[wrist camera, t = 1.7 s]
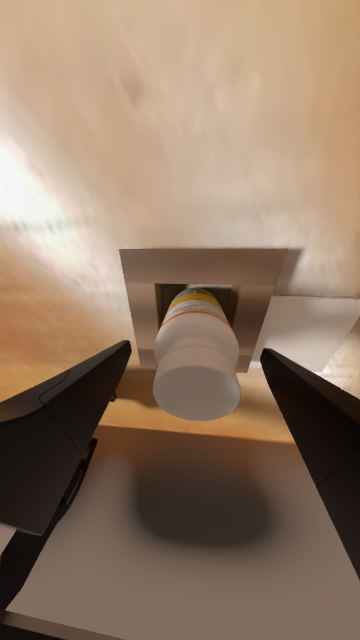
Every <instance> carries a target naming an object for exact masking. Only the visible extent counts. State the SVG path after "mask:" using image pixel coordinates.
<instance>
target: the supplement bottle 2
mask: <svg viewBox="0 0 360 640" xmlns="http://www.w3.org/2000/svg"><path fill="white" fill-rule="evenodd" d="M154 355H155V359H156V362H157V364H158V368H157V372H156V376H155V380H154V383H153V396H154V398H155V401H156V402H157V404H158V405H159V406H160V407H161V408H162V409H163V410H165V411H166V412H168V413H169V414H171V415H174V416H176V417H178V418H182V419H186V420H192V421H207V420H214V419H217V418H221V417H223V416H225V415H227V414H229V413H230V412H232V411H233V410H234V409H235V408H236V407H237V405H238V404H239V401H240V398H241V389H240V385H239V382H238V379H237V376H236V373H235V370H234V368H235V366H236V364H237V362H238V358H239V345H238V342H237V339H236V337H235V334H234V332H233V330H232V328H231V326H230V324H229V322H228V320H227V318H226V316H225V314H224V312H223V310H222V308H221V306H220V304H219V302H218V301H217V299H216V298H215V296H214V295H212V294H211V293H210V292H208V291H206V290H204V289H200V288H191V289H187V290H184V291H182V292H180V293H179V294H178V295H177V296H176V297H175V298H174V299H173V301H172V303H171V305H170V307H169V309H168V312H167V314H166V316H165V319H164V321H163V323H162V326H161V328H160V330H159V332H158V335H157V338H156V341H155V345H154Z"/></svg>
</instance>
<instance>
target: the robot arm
mask: <svg viewBox="0 0 360 640" xmlns="http://www.w3.org/2000/svg"><path fill="white" fill-rule="evenodd" d="M131 352H132V349H131V345H130V341H129V340H123V341H121V342H119V343H117V344H115V345H113V346H111V347H109V348H108V349H106V350H104V351H102V352H100V353H98V354H96V355H94V356H93V357H91V358H89V359H87V360H85V361H83V362H81V363H79V364H77V365H76V366H74V367H72V368H70V369H68V370H66V371H64V372H62V373H60V374H59V375H57V376H55V377H53V378H51V379H49V380H47V381H45V382H43V383H40V384H38V385H36V386H34V387H32V388H30V389H28V390H26V391H24V392H22V393H19V394H17V395H15V396H13V397H11V398H9V399H7V400H5V401H2V402H0V640H124V639H120V638H116V637H112V636H108V635H104V634H99V633H96V632H91V631H87V630H83V629H79V628H75V627H71V626H67V625H63V624H59V623H54V622H50V621H46V620H42V619H38V618H34V617H30V616H25V615H22V614H18V613H14V612H9V611H5V609H6V608H7V606H8V605H9V604H10V603H11V601H12V600H13V599H14V598H15V596H16V595H17V594H18V592H19V591H20V590H21V588H22V587H23V585H24V583H25V581H26V579H27V577H28V575H29V573H30V572H31V570H32V568H33V566H34V564H35V562H36V560H37V558H38V556H39V554H40V552H41V551H42V549H43V547H44V545H45V543H46V541H47V539H48V538H49V536H50V534H51V533H52V531H53V529H54V528H55V526H56V524H57V523H58V522H59V521H60V520H61V518H62V517H63V516H64V515H65V513H66V512H67V510H68V509H69V507H70V505H71V504H72V502H73V500H74V498H75V497H76V495H77V493H78V491H79V489H80V486H81V484H82V481H83V479H84V475H85V473H86V471H87V468H88V465H89V463H90V460H91V458H92V455H93V452H94V449H95V447H96V444H97V442H98V439H96V438H92V435H93V433H94V431H95V429H96V427H97V425H98V423H99V422H100V420H101V418H102V416H103V414H104V412H105V410H106V408H107V406H108V404H109V402H114V401H115V400H116V397H115V394H114V392H115V390H116V388H117V386H118V384H119V382H120V380H121V378H122V375H123V373H124V371H125V369H126V366H127V363H128V360H129V358H130V355H131ZM260 363H261V365H262V368H263V371H264V374H265V377H266V380H267V383H268V385H269V387H270V389H271V391H272V394H273V396H274V398H275V400H276V402H277V404H278V406H279V409H280V411H281V413H282V415H283V417H284V419H285V421H286V424H287V426H288V428H289V430H290V432H291V434H292V436H293V438H294V441H295V443H296V445H297V447H298V449H299V451H300V453H301V456H302V458H303V460H304V462H305V464H306V466H307V468H308V471H309V473H310V475H311V477H312V479H313V481H314V483H315V484H316V488H317V490H318V492H319V494H320V496H321V499H322V501H323V503H324V505H325V507H326V509H327V511H328V514H329V516H330V518H331V520H332V522H333V524H334V526H335V528H336V530H337V533H338V535H339V537H340V539H341V541H342V543H343V546H344V548H345V550H346V552H347V554H348V556H349V558H350V560H351V562H352V565H353V567H354V569H355V571H356V573H357V575H358V578H359V580H360V399H358V398H356V397H355V396H353V395H351V394H349V393H348V392H346V391H344V390H341V388H339V387H337V386H335V385H334V384H332V383H330V382H328V381H327V380H325V379H323V378H322V377H320V376H318V375H316V374H315V373H313V372H311V371H309V370H308V369H306V368H304V367H303V366H301V365H299V364H297V363H296V362H294V361H292V360H290V359H289V358H287V357H285V356H283V355H282V354H280V353H278V352H277V351H275V350H273V349H271V348H264V349H263V350H262V353H261V356H260Z"/></svg>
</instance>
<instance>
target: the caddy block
mask: <svg viewBox="0 0 360 640" xmlns="http://www.w3.org/2000/svg"><path fill="white" fill-rule="evenodd" d="M286 251H287V249H119V252H120V257H121V263H122V268H123V274H124V279H125V284H126V290H127V295H128V300H129V306H130V311H131V317H132V322H133V327H134V333H135V338H136V343H137V349H138V354H139V359H140V365H142V366H156V367H158V364H157V362H156V359H155V355H154V345H155V341H156V338H157V335H158V332H159V330H160V328H161V326H162V323H163V321H164V318H163V303H162V287H161V284H213V285H232V289H231V295H230V301H229V306H228V312H227V320H228V322H229V324H230V326H231V328H232V330H233V332H234V334H235V337H236V339H237V342H238V345H239V358H238V362H237V364H236V366H235V368H234V370H235V372H240V373H247V371H248V368H249V365H250V362H251V359H252V356H253V353H254V350H255V347H256V344H257V341H258V337H259V334H260V331H261V328H262V325H263V322H264V319H265V316H266V313H267V310H268V307H269V304H270V300H271V297H272V294H273V291H274V288H275V285H276V282H277V279H278V276H279V273H280V270H281V267H282V263H283V260H284V257H285V254H286Z"/></svg>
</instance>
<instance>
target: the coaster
mask: <svg viewBox="0 0 360 640" xmlns="http://www.w3.org/2000/svg"><path fill="white" fill-rule="evenodd" d="M359 317H360V298H347V297H307V296H272V297H271V300H270V304H269V307H268V310H267V313H266V316H265V319H264V322H263V325H262V328H261V331H260V334H259V337H258V341H257V344H256V347H255V350H254V353H253V356H252V359H251V362H250V365H249V367H256V368H262V365H261V363H260V356H261V353H262V350H263V349H264V348H271V349H273V350H275V351H277V352H278V353H280V354H282V355H283V356H285V357H287V358H289V359H290V360H292V361H294V362H296V363H297V364H299V365H301V366H303V367H304V368H306V369H308V370H309V371H314V372H322V371H323V369H324V368H325V366H326V365H327V364H328V362H329V361H330V359H331V358H332V356H333V355H334V353H335V352H336V350H337V349H338V347H339V346H340V345H341V343H342V342H343V340H344V339H345V337H346V336H347V334H348V333H349V331H350V330H351V328H352V327H353V326H354V324H355V323H356V321H357V320H358V318H359Z"/></svg>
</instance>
